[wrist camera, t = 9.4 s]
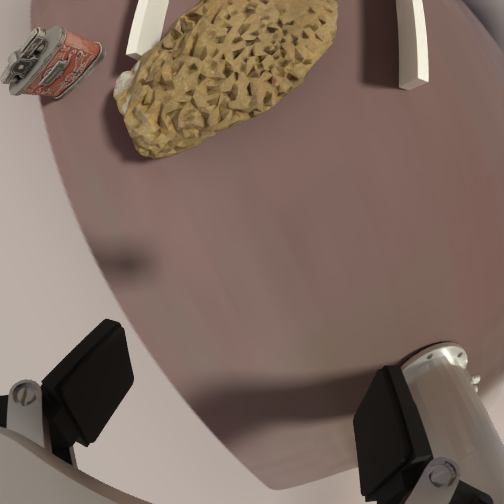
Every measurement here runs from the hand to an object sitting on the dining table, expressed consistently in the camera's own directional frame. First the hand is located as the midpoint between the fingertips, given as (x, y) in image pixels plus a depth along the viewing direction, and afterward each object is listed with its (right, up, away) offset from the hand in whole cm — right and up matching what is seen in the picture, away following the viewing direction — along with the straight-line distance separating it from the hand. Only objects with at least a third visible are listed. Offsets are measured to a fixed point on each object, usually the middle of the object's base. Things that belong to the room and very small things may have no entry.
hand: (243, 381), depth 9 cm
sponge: (-1, +21, +11) cm, 24 cm away
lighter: (-18, +24, +11) cm, 32 cm away
